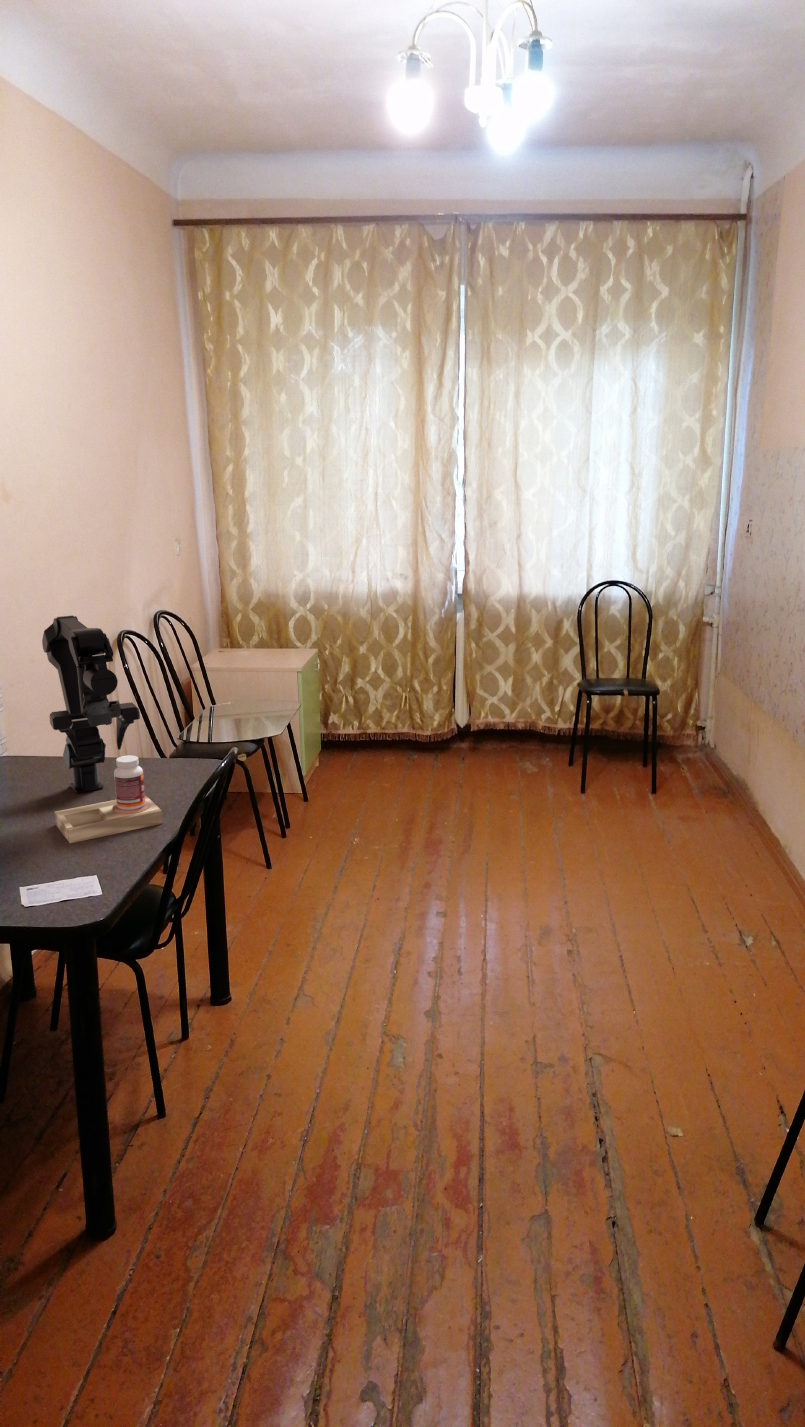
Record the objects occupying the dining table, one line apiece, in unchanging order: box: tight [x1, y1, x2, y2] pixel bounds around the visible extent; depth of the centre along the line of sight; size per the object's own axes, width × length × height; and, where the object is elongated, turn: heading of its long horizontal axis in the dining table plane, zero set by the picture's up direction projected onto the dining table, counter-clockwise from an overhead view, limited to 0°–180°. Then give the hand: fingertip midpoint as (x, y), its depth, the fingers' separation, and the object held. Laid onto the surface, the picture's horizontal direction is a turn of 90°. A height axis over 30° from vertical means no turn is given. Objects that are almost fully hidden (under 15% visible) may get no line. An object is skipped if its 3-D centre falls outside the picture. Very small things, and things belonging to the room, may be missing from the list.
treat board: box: [53, 794, 164, 844], centre depth 210 cm, size 12×20×3 cm, turn 123°
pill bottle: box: [113, 754, 146, 810], centre depth 210 cm, size 6×6×11 cm
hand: (98, 752), depth 217 cm, fingers open, 9 cm apart
